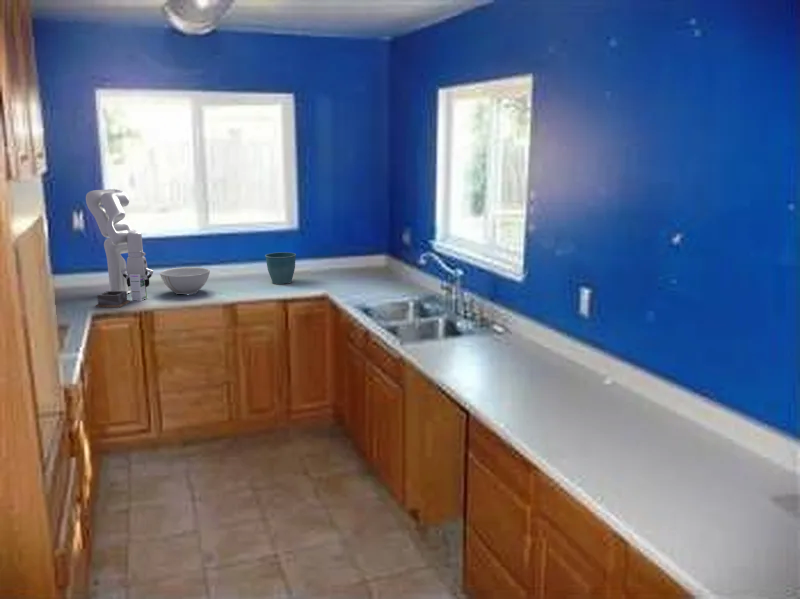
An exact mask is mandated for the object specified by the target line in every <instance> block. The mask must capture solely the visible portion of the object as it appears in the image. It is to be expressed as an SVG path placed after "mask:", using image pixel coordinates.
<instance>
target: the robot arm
mask: <svg viewBox="0 0 800 599" xmlns="http://www.w3.org/2000/svg"><path fill="white" fill-rule="evenodd" d="M85 203H86V206H87V208H88V210H89V212H90V214H92V216H93V217H94V219H95V221H96V224H97V225H98V228H99V231H100V233H101V235H102V236H103V237H104V238H106V239H105V240H104V242H103V247H104V248H103V249H104V252H105V255H106V256H105V257H106V262H107V273H108V274H107V275H108V284H109V290H108V291H126V292H127V295H129V294H131V288H130V289H129V287H131V285H130V274H140V276H143V277H144V278H145V287H146V288H147V287H149V286H150V279H151V277H152V276H153V274H154V270H152V269H150V268H148V263H147V258H146V257H145V256H147V253H146V252H144V248H143V236H142V235H143V234H142V233H141V231H138V230H136V229H132V227H131V224H130V223H129V222H128V220H126V219H125V217H126V212H125V210H124V209H123V207H127V206H129V205H130V198H129V196H128V194H127V193H126V192H125V191H123V190H120V189H115V188H113V189H111V188H109V189H96V190H95V189H94V190H90V191H88V192H87V193H86V195H85ZM122 254H127V256H128V257H127V258H126V259H125V258H124V257H123V256H122ZM128 293H129V294H128Z"/></svg>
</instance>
